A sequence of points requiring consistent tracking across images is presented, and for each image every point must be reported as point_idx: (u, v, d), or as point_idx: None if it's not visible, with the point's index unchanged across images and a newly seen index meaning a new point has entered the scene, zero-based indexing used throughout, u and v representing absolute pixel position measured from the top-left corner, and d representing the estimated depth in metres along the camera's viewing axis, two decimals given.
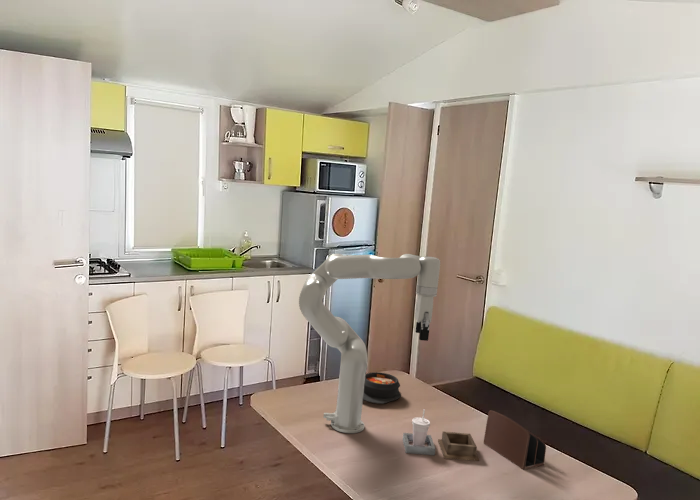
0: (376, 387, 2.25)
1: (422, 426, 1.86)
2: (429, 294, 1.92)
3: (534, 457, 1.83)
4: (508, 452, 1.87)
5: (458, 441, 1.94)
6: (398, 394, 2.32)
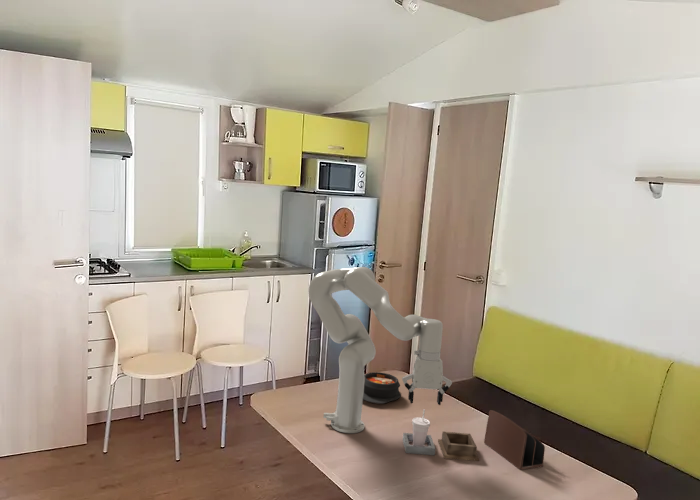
0: (376, 387, 2.25)
1: (422, 426, 1.86)
2: None
3: (532, 457, 1.82)
4: (506, 452, 1.87)
5: (458, 441, 1.94)
6: (398, 394, 2.32)
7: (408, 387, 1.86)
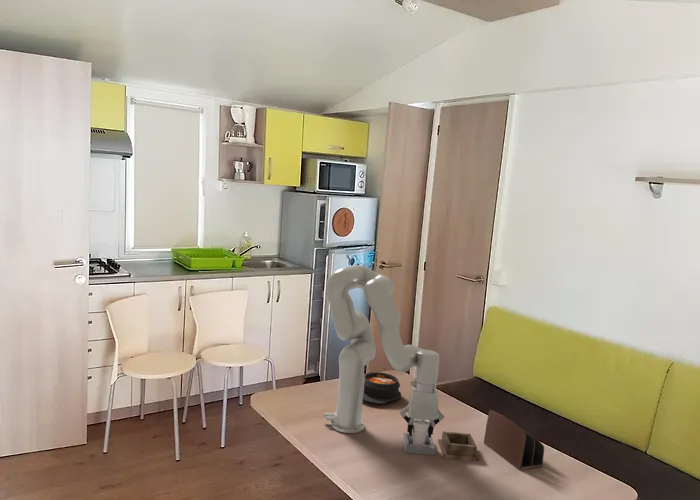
0: (376, 387, 2.25)
1: (422, 426, 1.86)
2: None
3: (531, 458, 1.82)
4: (506, 452, 1.87)
5: (458, 441, 1.94)
6: (398, 394, 2.32)
7: (407, 420, 1.88)
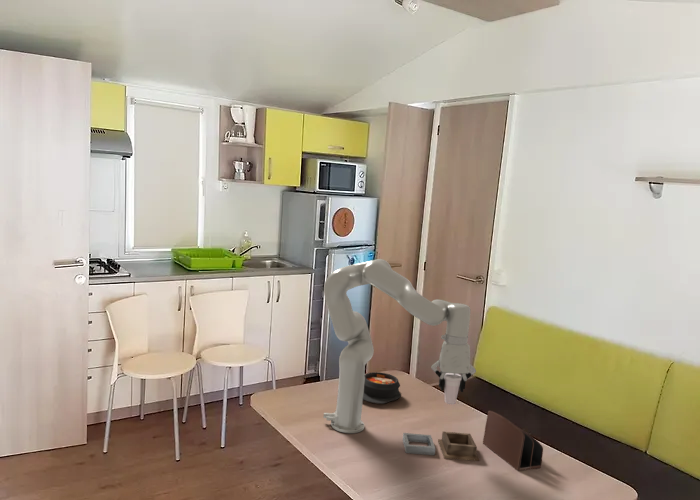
0: (376, 387, 2.25)
1: (454, 380, 1.84)
2: None
3: (530, 459, 1.81)
4: (504, 453, 1.86)
5: (458, 441, 1.94)
6: (398, 394, 2.32)
7: (439, 374, 1.86)
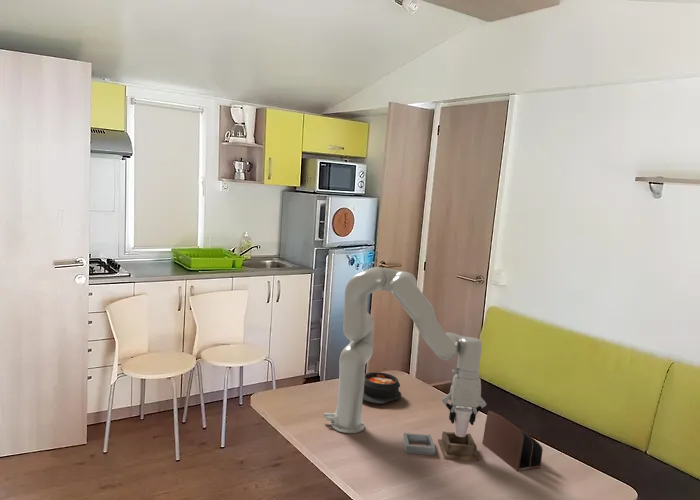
0: (376, 387, 2.25)
1: (465, 413, 1.85)
2: None
3: (529, 459, 1.81)
4: (504, 453, 1.86)
5: (458, 441, 1.94)
6: (398, 394, 2.32)
7: (449, 407, 1.87)
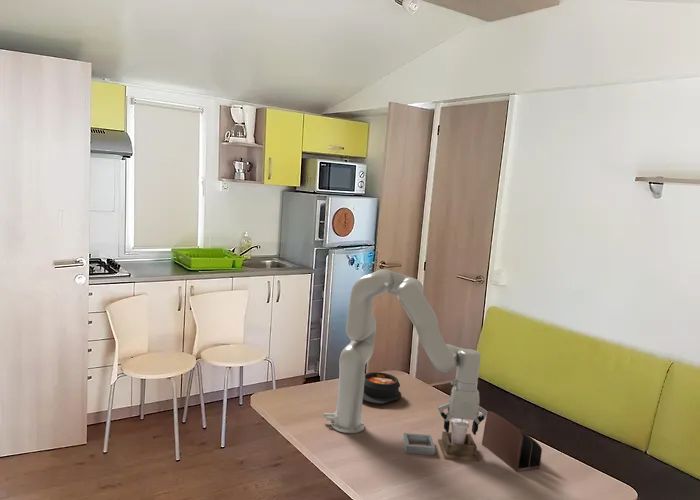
0: (376, 387, 2.25)
1: (462, 427, 1.86)
2: None
3: (528, 459, 1.81)
4: (503, 453, 1.86)
5: None
6: (398, 394, 2.32)
7: (444, 416, 1.88)
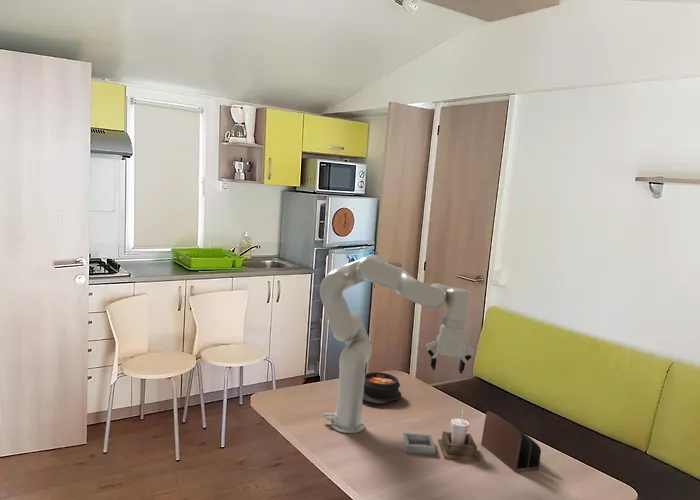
0: (376, 387, 2.25)
1: (462, 427, 1.86)
2: None
3: (527, 460, 1.80)
4: (502, 454, 1.85)
5: None
6: (398, 394, 2.32)
7: (431, 354, 1.88)
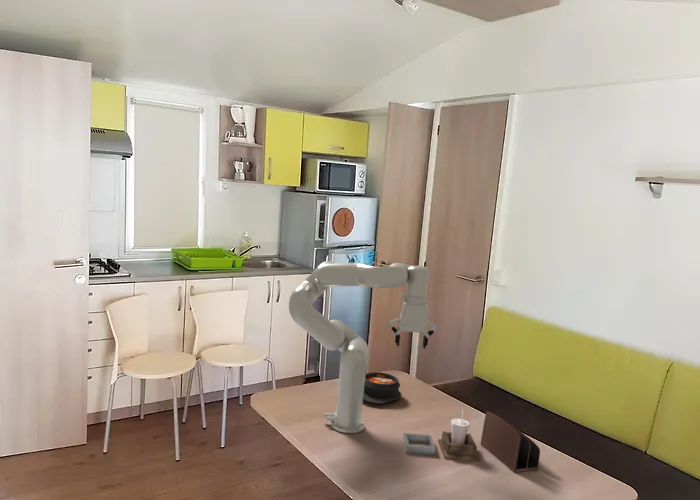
0: (376, 387, 2.25)
1: (462, 427, 1.86)
2: None
3: (526, 460, 1.80)
4: (501, 454, 1.85)
5: None
6: (398, 394, 2.32)
7: (395, 330, 1.95)
